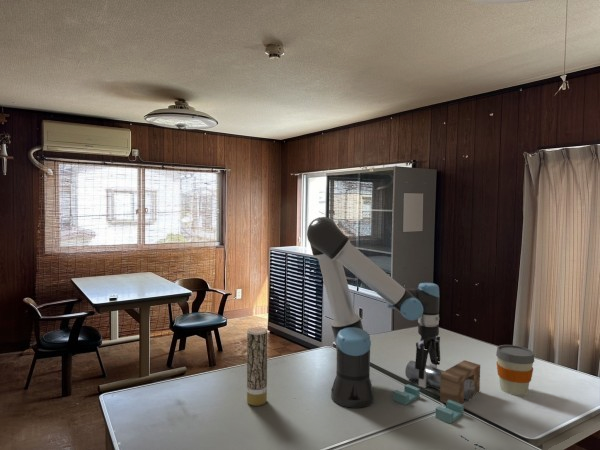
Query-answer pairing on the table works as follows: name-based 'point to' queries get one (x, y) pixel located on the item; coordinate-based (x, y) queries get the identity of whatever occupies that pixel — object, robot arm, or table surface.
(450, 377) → the brown wooden arched block
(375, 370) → the table surface
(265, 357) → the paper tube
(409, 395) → the v-blocks
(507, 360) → the reusable coffee cup
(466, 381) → the steel axle
